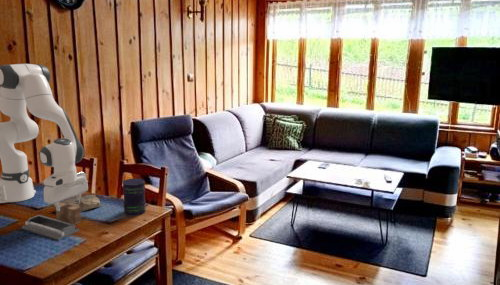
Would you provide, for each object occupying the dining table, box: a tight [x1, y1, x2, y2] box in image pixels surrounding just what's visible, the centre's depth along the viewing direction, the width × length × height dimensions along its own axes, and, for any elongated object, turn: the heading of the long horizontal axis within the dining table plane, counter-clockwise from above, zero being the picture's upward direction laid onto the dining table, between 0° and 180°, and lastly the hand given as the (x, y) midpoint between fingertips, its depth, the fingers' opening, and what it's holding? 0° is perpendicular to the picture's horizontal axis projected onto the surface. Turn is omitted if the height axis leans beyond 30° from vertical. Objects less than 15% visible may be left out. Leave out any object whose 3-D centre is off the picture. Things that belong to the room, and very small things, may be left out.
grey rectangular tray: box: [21, 214, 80, 241], centre depth 168 cm, size 22×10×3 cm, turn 64°
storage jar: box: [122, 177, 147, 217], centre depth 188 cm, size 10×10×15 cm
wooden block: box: [55, 203, 82, 226], centre depth 177 cm, size 12×4×7 cm, turn 64°
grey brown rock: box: [54, 194, 101, 212], centre depth 193 cm, size 14×5×20 cm
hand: (68, 207), depth 176 cm, fingers open, 8 cm apart
